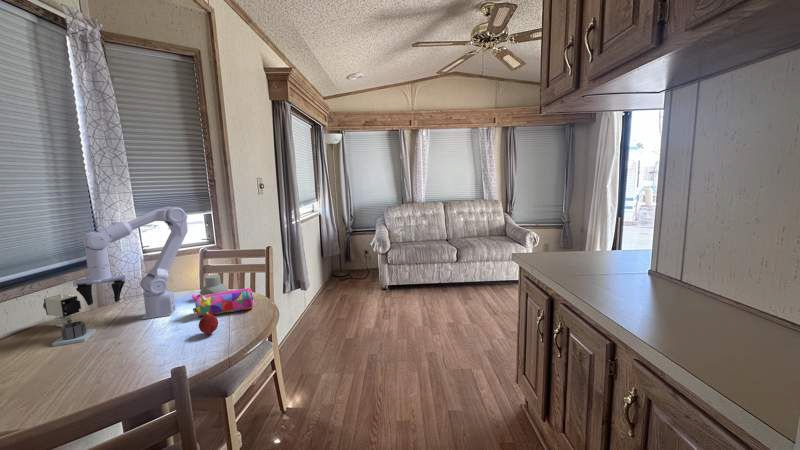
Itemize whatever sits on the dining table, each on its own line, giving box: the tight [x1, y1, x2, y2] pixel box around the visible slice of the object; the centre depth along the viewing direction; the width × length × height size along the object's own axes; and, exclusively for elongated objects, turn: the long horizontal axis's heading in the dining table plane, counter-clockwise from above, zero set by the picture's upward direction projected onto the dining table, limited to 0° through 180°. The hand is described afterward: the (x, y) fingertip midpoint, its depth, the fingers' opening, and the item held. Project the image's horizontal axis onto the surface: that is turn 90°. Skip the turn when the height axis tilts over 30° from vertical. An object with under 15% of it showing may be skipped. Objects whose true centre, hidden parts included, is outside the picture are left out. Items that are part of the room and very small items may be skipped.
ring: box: [60, 320, 87, 340], centre depth 110 cm, size 5×5×4 cm
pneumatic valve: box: [42, 293, 82, 328], centre depth 121 cm, size 6×12×12 cm, turn 77°
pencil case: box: [191, 287, 255, 318], centre depth 131 cm, size 22×9×9 cm, turn 114°
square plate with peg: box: [52, 328, 97, 347], centre depth 110 cm, size 8×8×4 cm
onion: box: [198, 312, 219, 335], centre depth 111 cm, size 6×6×8 cm
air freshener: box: [199, 274, 228, 295], centre depth 148 cm, size 11×8×10 cm
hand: (104, 302), depth 116 cm, fingers open, 7 cm apart
